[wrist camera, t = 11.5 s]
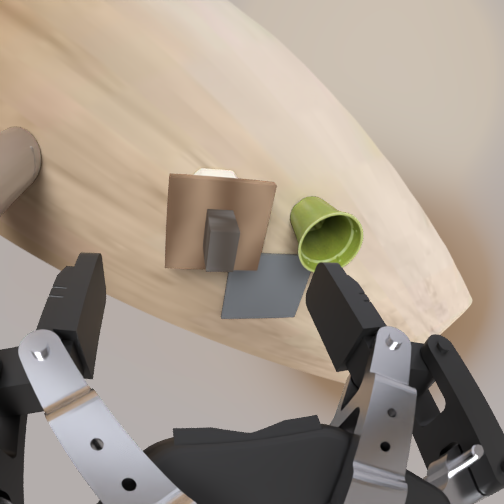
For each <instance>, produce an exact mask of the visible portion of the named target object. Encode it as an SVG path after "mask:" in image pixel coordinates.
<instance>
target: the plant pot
mask: <svg viewBox="0 0 504 504" xmlns="http://www.w3.org/2000/svg"><path fill="white" fill-rule="evenodd" d="M290 220H291V224H292V227H293V229H294V232H295V235H296V238H297V241H298V256H299V259H300V262H301V263H302V265H303V266H304V267H305V268H306V269H307V270H309V271H311V272H314V271H315V268H316V266H317V264H318V263H320V262H331V263H339V264H340V266H341V267H342V268H343V267H344V266H346V265H347V264H348V263H349V262H351V261H352V260H353V258H354V257H355V256H356V255H357V253H358V251H359V250H360V248H361V245H362V241H363V229H362V226H361V224H360V222H359V221H358V219H357V218H355V217H354V216H353V215H351V214H349V213H346V212H340V211H338V210H337V209H335V208H334V207H332V206H331V205H329V204H328V203H327V202H325V201H324V200H322V199H321V198H318V197H306V198H304V199H302V200H301V201H300V202H299V203H298V204H296V205H295V206H294V207H293V209H292V212H291V215H290Z"/></svg>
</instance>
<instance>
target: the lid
mask: <svg viewBox="0 0 504 504" xmlns="http://www.w3.org/2000/svg"><path fill="white" fill-rule="evenodd" d="M276 187H277V186H276V184H275V183H274V182H269V181H259V180H249V179H239V178H227V177H215V176H202V175H186V174H170V176H169V188H168V203H167V222H166V247H165V268H178V269H206V271H207V272H233V270H250V271H257V269H258V265H259V261H260V257H261V252H262V248H263V244H264V239H265V235H266V231H267V226H268V222H269V218H270V213H271V209H272V205H273V200H274V196H275V192H276Z"/></svg>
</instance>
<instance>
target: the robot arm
mask: <svg viewBox="0 0 504 504" xmlns="http://www.w3.org/2000/svg"><path fill="white" fill-rule="evenodd" d="M40 166H41V153H40V149H39V146H38V143H37V141H36V139H35V138H34V137H33V135H32V134H31V133H30V132H28V131H27V130H25V129H23V128H21V127H10V128H7V129H5V130H3V131H1V132H0V216H1V215H2V214H3V213H4V212H5V211H6V210H7V209H8V207H9V206H10V205H11V204H12V203H13V202H14V201H15V200H16V199H17V198H18V197H19V196H20V195H21V194H22V193H23V192H24V190H25V189H26V188H27V187H28V186H29V185H30V184H31V183H32V182H33V181H34V180H35V179H36V177H37V175H38V173H39V171H40ZM364 293H365V292H364V291H363V289H362V288H361V286H360V285H359V284H358V283H357V282H356V281H355V280H354V279H353V278H351V277H350V276H349V275H347V274H346V273H345V271H344V270H343V268H342V267H341V266H340V264H339V263H331V262H320V263H318V264H317V266H316V268H315V271H314V274H313V277H312V279H311V282H310V285H309V287H308V290H307V293H306V306H307V308H308V311H309V313H310V315H311V317H312V319H313V321H314V324H315V326H316V328H317V330H318V332H319V334H320V336H321V339H322V341H323V343H324V345H325V347H326V350H327V352H328V354H329V356H330V358H331V360H332V363H333V365H334V367H335V369H336V372H339V371H345V370H348V371H349V373H350V375H349V376H348V378H347V380H346V383H345V386H344V390H343V393H342V396H341V399H340V402H339V405H338V408H337V411H336V414H335V416H334V418H333V420H332V422H331V424H330V425H326V424H320V422H319V419H318V416H317V415H314V416H309V417H302V418H296V419H290V420H284V421H282V422H279V423H277V424H274V425H272V426H269V427H267V428H264V429H262V430H259V431H256V432H253V433H244V432H237V431H230V430H223V429H217V428H181V429H180V428H174V429H173V436H174V437H172V438H169V439H165V440H162V441H160V442H157V443H155V444H153V445H151V446H149V447H148V448H146V449H145V450H143V451H142V450H141V449H140V448H139V446H138V445H137V444H136V443H135V442H134V441H133V439H132V438H131V437H130V436H129V435H128V433H127V432H126V431H125V430H124V429H123V427H122V426H121V425H120V423H119V422H118V421H117V420H116V418H115V417H114V416H113V414H112V413H111V412H110V410H109V409H108V408H107V407H106V405H105V404H104V402H103V401H102V399H101V398H100V397H99V395H98V394H97V393H96V392H95V390H94V389H91V388H90V387H89V386H88V384H87V383H86V381H85V380H84V378H85V379H93V374H94V366H95V360H96V352H97V346H98V340H99V335H100V329H101V324H102V319H103V313H104V308H105V303H106V286H105V278H104V270H103V262H102V256H101V254H100V253H80V254H79V256H78V259H77V261H76V264H75V266H74V267H72V266H66V267H65V268H64V269H63V270H62V271H61V272H60V273H59V274H58V275H57V277H56V280H55V282H54V284H53V288H52V289H51V292H50V294H49V297H48V299H47V302H46V304H45V307H44V310H43V312H42V315H41V318H40V321H39V323H38V326H37V329H36V330H35V331H32V332H31V333H29V334H27V335H26V336H25V337H24V338H23V339H22V341H21V342H20V345H19V346H18V347H14V348H8V349H2V350H0V504H24V494H23V492H24V491H23V472H24V447H25V434H26V423H27V414H29V413H35V412H42V411H45V417H46V419H47V421H48V423H49V425H50V426H51V428H52V430H53V432H54V433H55V435H56V437H57V439H58V440H59V442H60V444H61V445H62V447H63V448H64V450H65V451H66V453H67V455H68V456H69V458H70V459H71V461H72V462H73V464H74V465H75V467H76V468H77V469H78V471H79V472H80V474H81V475H82V477H83V478H84V479H85V481H86V482H87V483H88V485H89V486H90V487H91V489H92V490H93V491H94V493H95V494H96V495H97V496H98V498H99V499H100V501H99V502H98V503H97V504H474V503H476V502H478V501H480V500H482V499H484V498H486V497H488V496H490V495H492V494H494V493H496V492H497V491H499V490H501V489H503V488H504V434H503V431H502V429H501V428H500V426H499V424H498V422H497V420H496V418H495V416H494V414H493V412H492V410H491V408H490V407H489V405H488V403H487V401H486V399H485V397H484V396H483V394H482V392H481V391H480V389H479V387H478V385H477V384H476V382H475V380H474V379H473V377H472V375H471V373H470V372H469V370H468V368H467V367H466V365H465V364H464V362H463V360H462V359H461V357H460V356H459V354H458V352H457V351H456V349H455V348H454V346H453V345H452V343H451V342H450V341H449V340H448V339H446V338H445V337H443V336H441V335H436V334H435V335H431V336H430V337H429V338H428V339H427V341H426V342H425V343H424V344H422V343H415V342H410V340H409V338H408V337H407V336H406V335H405V334H404V333H403V332H402V331H401V330H399V329H397V328H394V327H390V326H386V324H385V323H384V321H383V320H382V318H381V317H380V315H379V313H378V312H377V310H376V309H375V307H374V306H373V304H372V303H371V302H369V298H368V297H367V295H366V294H364ZM435 381H436V383H437V385H438V387H439V389H440V391H441V392H442V394H443V396H444V398H445V402H446V405H445V409H444V411H443V412H442V413H440V411H439V409H438V407H437V405H436V403H435V401H434V399H433V397H432V395H431V394H430V392H429V390H428V388H429V387H430V386H431V385H432V384H433V383H434V382H435ZM412 434H413V436H414V439H415V441H416V443H417V446H418V448H419V451H420V453H421V455H422V458H423V460H424V463H425V465H426V468H427V476H425V477H424V478H423V479H422V478H420V477H418V476H416V475H415V474H413V473H412V472H410V471H408V470H407V469H406V467H407V461H408V456H409V450H410V444H411V438H412Z"/></svg>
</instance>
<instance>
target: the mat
mask: <svg viewBox="0 0 504 504" xmlns="http://www.w3.org/2000/svg"><path fill="white" fill-rule="evenodd" d="M310 273H311V271H309V270H307V269H306V268H305V267H304V266H303V265H302V263H301V262H300V259H299V256H298V255H295V254H269V253H261V257H260V261H259V265H258V269H257V271H250V270H233V272H228V278H227V284H226V290H225V296H224V302H223V308H222V314H221V319H241V318H283V317H294V316H295V314H296V311H297V308H298V306H299V303H300V300H301V298H302V295H303V292H304V289H305V287H306V284H307V281H308V278H309V275H310Z"/></svg>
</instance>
